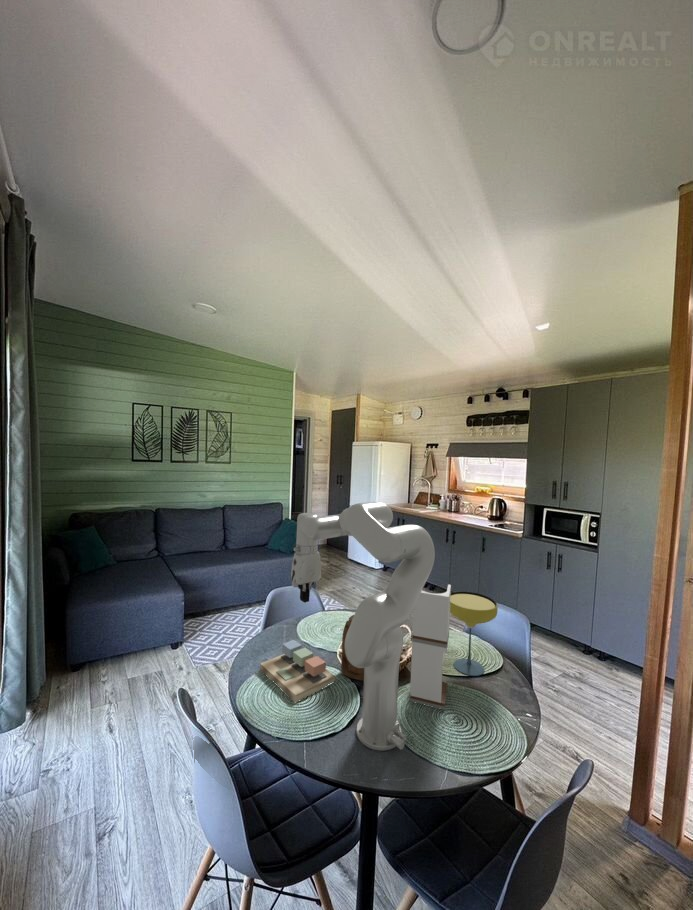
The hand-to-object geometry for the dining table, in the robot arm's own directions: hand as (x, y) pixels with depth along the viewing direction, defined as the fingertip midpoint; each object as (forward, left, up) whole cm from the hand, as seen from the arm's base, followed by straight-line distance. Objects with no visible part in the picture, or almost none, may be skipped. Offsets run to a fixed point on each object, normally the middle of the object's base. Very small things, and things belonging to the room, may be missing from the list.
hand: (304, 600), depth 130 cm
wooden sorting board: (0, +2, -26) cm, 26 cm away
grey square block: (+7, 0, -21) cm, 22 cm away
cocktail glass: (-35, -51, -26) cm, 67 cm away
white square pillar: (-35, -26, -26) cm, 51 cm away
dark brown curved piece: (-12, -15, -26) cm, 32 cm away
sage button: (0, 0, -21) cm, 21 cm away
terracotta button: (-7, 0, -21) cm, 22 cm away
